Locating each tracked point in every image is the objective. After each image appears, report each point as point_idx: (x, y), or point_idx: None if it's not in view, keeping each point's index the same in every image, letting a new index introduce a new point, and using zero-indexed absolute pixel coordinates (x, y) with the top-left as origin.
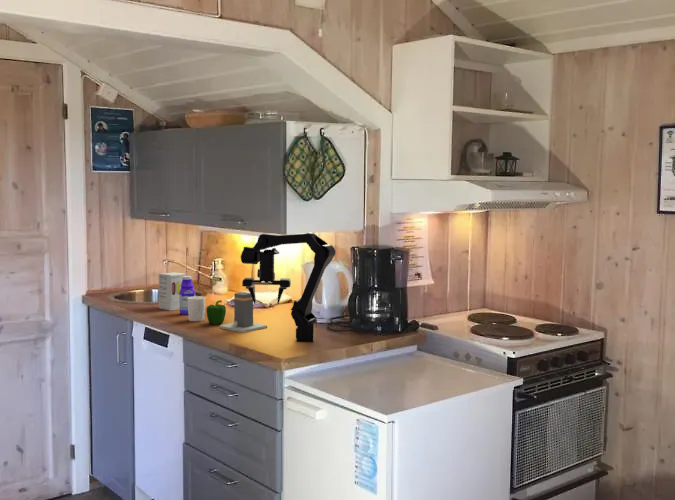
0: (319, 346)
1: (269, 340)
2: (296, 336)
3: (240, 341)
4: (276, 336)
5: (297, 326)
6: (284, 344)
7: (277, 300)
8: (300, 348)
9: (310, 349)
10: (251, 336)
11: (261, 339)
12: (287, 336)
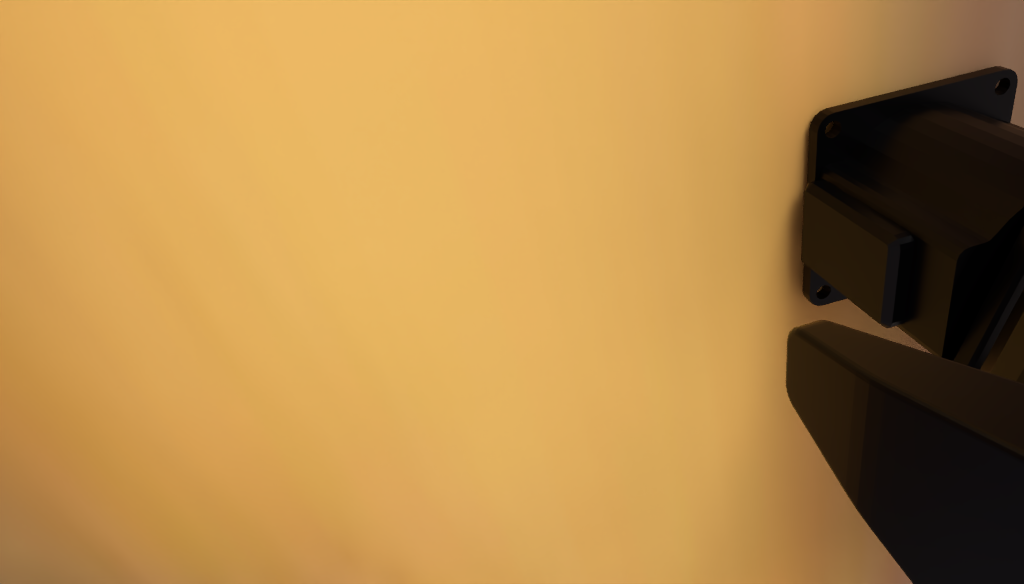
0: None
1: (475, 343)
2: (826, 278)
3: (138, 512)
4: (501, 88)
5: (927, 346)
6: (681, 441)
7: (870, 527)
8: (837, 507)
9: None
10: (118, 212)
11: (354, 331)
12: (659, 37)
